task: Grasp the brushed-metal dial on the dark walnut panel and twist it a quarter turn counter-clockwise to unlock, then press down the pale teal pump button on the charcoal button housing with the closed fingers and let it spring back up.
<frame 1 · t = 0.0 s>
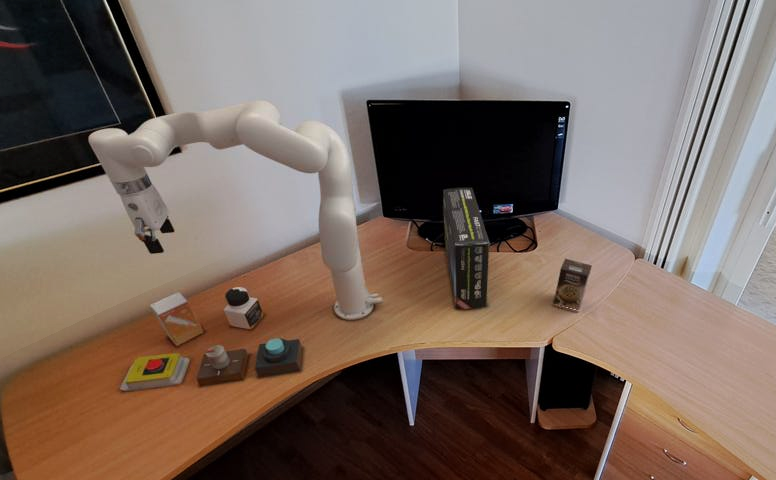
hand: (163, 242, 118), 31 cm above the table, tool pointing down, fingers open, 9 cm apart
dial: (218, 356, 122), point 6 cm above the table, hinge at 0.0°
small box: (186, 335, 135), on the table
button housing: (281, 362, 128), on the table
lock panel: (225, 370, 125), on the table
router box: (464, 277, 161), on the table
pump: (275, 346, 124), point 7 cm above the table, slide at 0.1 cm
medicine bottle: (247, 320, 141), on the table
emergency button: (156, 375, 124), on the table
coffee box: (567, 304, 152), on the table
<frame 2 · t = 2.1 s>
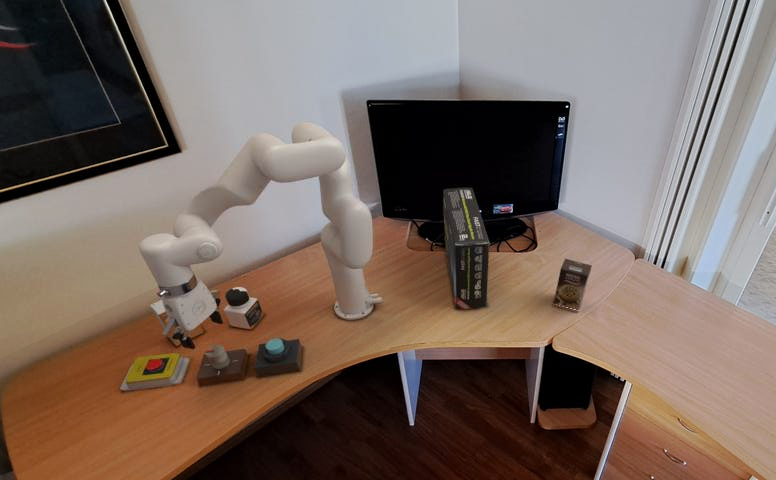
hand: (204, 334, 116), 15 cm above the table, tool pointing down, fingers open, 9 cm apart
nothing on the table moved.
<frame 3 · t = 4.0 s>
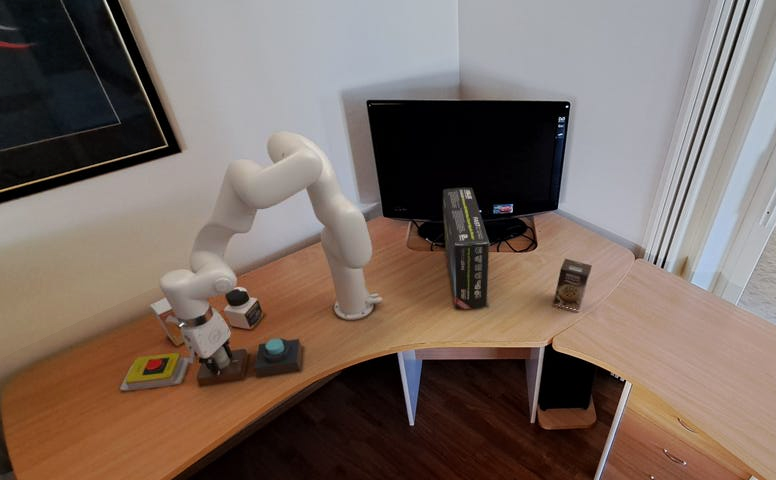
hand: (220, 361, 123), 4 cm above the table, tool pointing down, fingers closed on dial, 4 cm apart
dial: (218, 356, 122), point 6 cm above the table, hinge at 0.2°, touching gripper
everything else where it was.
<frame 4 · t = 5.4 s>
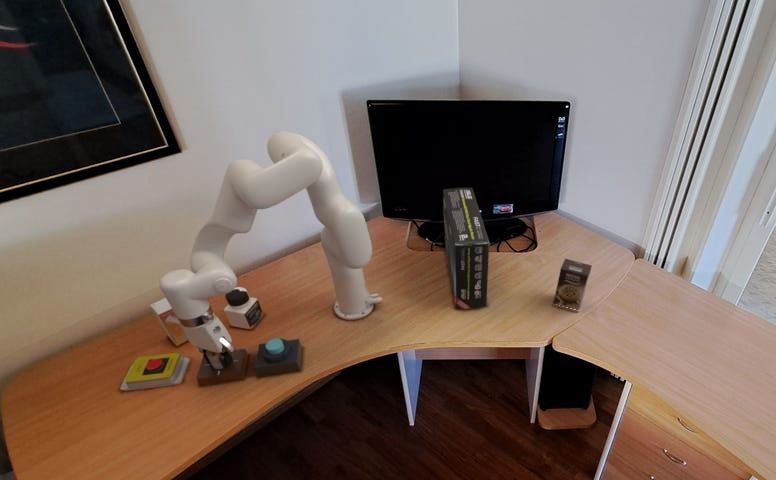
hand: (220, 361, 123), 4 cm above the table, tool pointing down, fingers closed on dial, 4 cm apart
dial: (218, 356, 122), point 6 cm above the table, hinge at 90.2°, touching gripper
everything else where it was.
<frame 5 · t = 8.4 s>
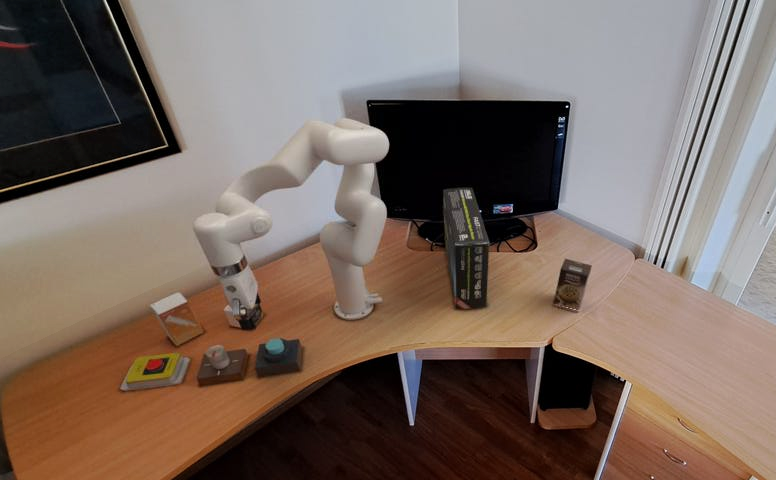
hand: (252, 315, 116), 19 cm above the table, tool pointing down, fingers open, 9 cm apart
dial: (218, 356, 122), point 6 cm above the table, hinge at 88.8°
everything else where it was.
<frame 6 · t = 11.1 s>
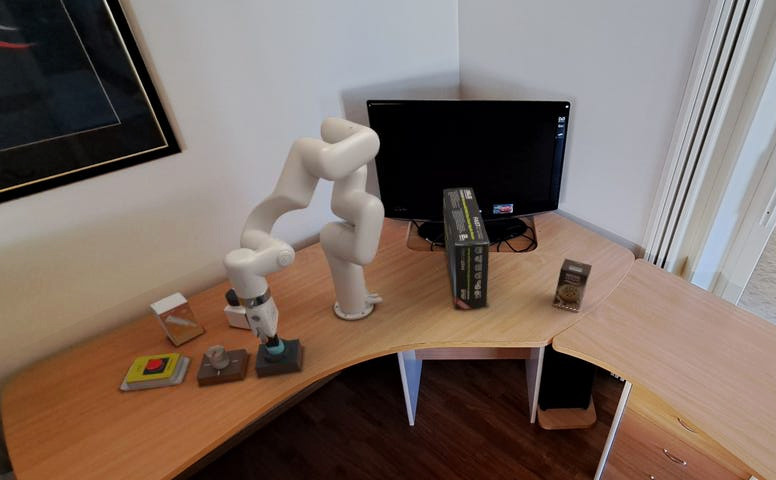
hand: (273, 344, 123), 8 cm above the table, tool pointing down, fingers closed
pump: (275, 346, 124), point 6 cm above the table, slide at 0.0 cm, touching gripper
everything else where it was.
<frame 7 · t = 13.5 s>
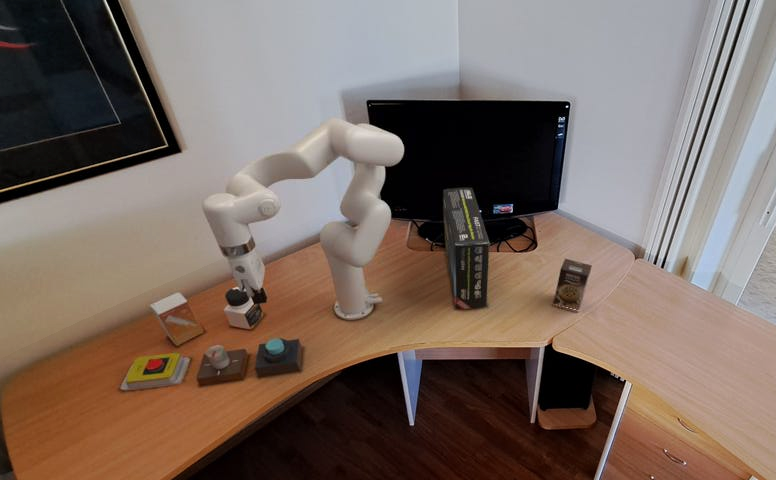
hand: (260, 301, 118), 20 cm above the table, tool pointing down, fingers closed
pump: (275, 346, 124), point 7 cm above the table, slide at 0.1 cm
everything else where it was.
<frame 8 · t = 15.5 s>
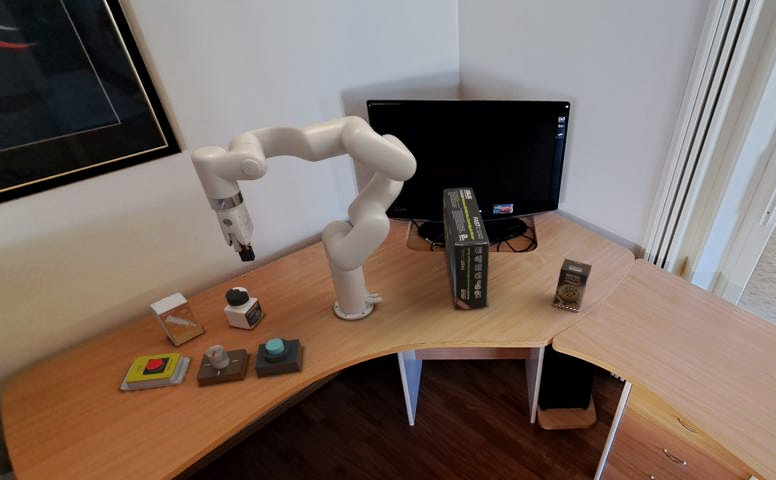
hand: (248, 259, 120), 27 cm above the table, tool pointing down, fingers closed
nothing on the table moved.
at the end: dial at +89° (first picture: +0°); pump pushed in 1.2 cm at the most during the clip, back to where it started at the end; pump slide at 0.1 cm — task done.
